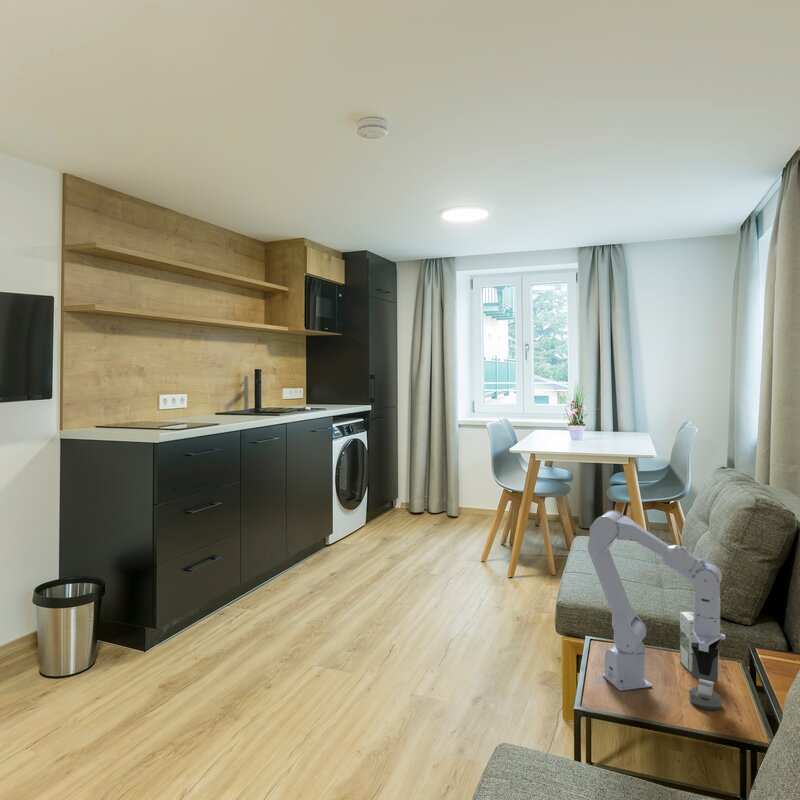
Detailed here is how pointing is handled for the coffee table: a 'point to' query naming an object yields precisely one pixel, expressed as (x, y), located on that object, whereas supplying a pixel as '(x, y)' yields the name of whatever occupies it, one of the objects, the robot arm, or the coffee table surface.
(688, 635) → the syrup box
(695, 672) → the socket
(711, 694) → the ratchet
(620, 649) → the robot arm
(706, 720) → the coffee table surface
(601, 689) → the coffee table surface
